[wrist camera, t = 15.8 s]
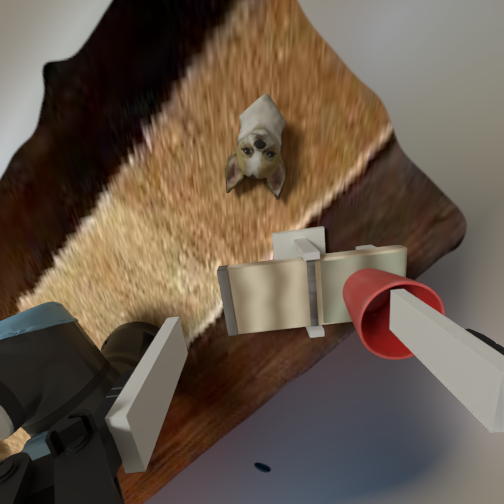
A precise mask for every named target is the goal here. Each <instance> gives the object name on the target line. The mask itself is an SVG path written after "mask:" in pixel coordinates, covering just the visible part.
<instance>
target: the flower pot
mask: <svg viewBox="0 0 504 504" xmlns="http://www.w3.org/2000/svg"><path fill="white" fill-rule="evenodd" d="M396 289H405V290H406V291H408V292H409V293H411V294H412V295H414V296H415V297H417V298H418V299H420V300H421V301H423V302H424V303H426V304H427V305H429V306H430V307H432V308H433V309H435V310H436V311H438V312H439V313H441V314H442V315H444V316H445V310H444V305H443V303H442V301H441V299H440V297H439V296H438V295H437V293H436V292H435V291H434V290H432V289H431V288H429V287H428V286H427V285H425V284H422V283H420V282H417V281H414V280H411V279H408V278H405V277H402V276H399V275H396V274H393V273H390V272H386V271H382V270H378V269H374V268H365V269H361V270H358V271H356V272H355V273H353V274H352V275H350V277H349V278H348V279H347V280H346V282H345V284H344V287H343V291H342V294H343V299H344V302H345V305H346V308H347V310H348V313H349V315H350V317H351V320H352V322H353V324H354V327H355V329H356V331H357V333H358V335H359V337H360V339H361V341H362V343H363V344H364V346H365V347H366V348H367V349H368V350H369V351H370V352H372V353H373V354H375V355H377V356H379V357H382V358H385V359H391V360H398V359H405V358H410V357H413V356H415V355H414V354H413V353H412V352H411V351H410V350H409V349H408V348H407V347H406V346H405V345H404V344H403V343H402V342H401V341H400V340H399V338H398V337H397V336H396V335H395V334H394V333H393V332H392V331H391V330H390V297H391V290H396Z"/></svg>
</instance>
